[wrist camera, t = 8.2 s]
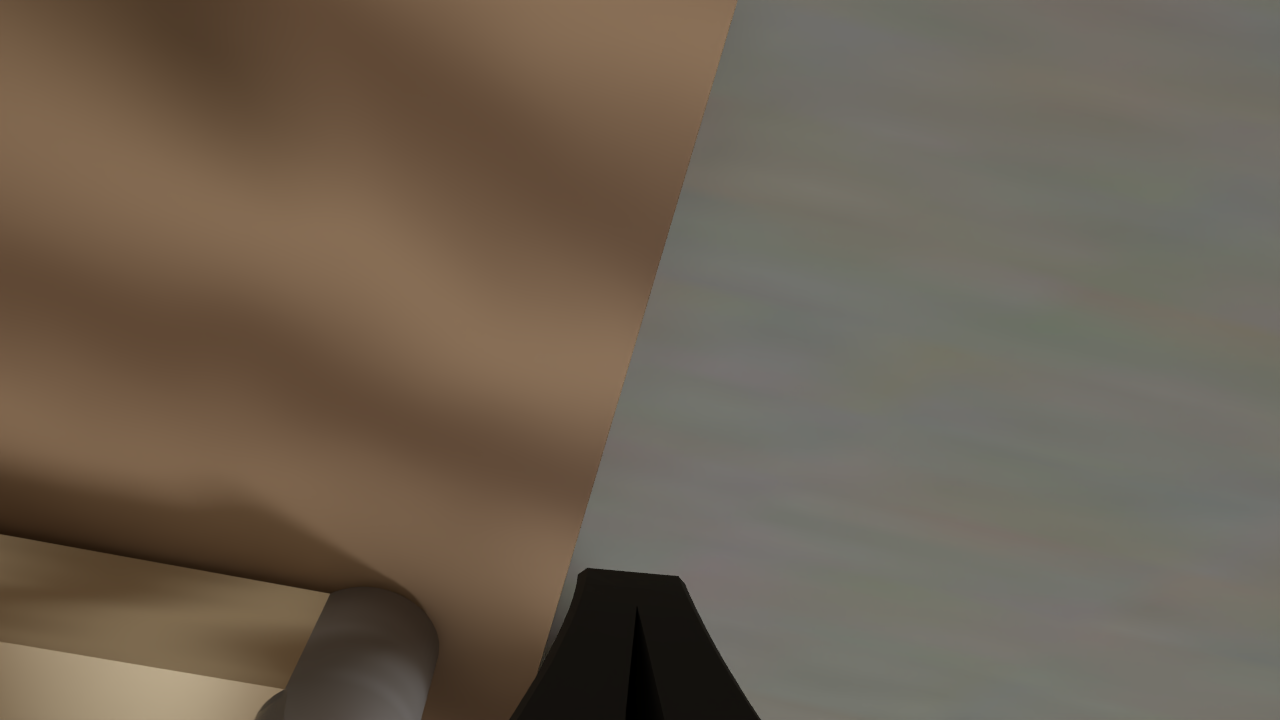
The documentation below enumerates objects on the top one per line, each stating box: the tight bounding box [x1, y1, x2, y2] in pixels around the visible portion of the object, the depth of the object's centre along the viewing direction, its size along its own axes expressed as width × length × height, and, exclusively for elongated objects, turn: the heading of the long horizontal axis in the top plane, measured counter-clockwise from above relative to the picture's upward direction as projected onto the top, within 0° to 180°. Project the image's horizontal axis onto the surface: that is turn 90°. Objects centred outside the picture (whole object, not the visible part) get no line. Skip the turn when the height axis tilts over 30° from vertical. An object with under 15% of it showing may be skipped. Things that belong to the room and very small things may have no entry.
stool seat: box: [0, 0, 737, 720], centre depth 18 cm, size 20×20×5 cm
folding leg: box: [0, 534, 439, 720], centre depth 19 cm, size 15×3×3 cm, turn 76°
